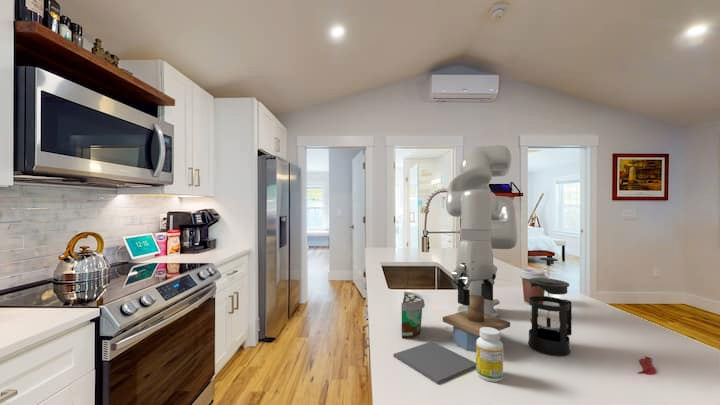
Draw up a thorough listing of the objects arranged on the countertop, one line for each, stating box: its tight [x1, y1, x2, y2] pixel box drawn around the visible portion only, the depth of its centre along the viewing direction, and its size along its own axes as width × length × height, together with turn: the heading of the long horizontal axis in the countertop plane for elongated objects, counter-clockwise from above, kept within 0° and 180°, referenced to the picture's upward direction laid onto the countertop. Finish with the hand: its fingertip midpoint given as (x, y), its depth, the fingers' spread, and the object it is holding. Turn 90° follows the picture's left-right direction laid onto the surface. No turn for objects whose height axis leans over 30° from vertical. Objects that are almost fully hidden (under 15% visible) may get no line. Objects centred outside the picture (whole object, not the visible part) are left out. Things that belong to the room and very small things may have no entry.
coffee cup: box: [519, 268, 548, 306], centre depth 118 cm, size 9×9×12 cm
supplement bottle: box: [475, 327, 504, 383], centre depth 67 cm, size 5×5×10 cm
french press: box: [527, 256, 573, 357], centre depth 81 cm, size 12×9×23 cm
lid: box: [442, 295, 511, 336], centre depth 83 cm, size 12×12×7 cm
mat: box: [393, 341, 476, 385], centre depth 73 cm, size 13×14×1 cm
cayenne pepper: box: [637, 356, 657, 376], centre depth 71 cm, size 12×5×2 cm, turn 117°
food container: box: [401, 291, 426, 340], centre depth 90 cm, size 12×6×10 cm, turn 168°
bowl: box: [452, 325, 480, 353], centre depth 83 cm, size 11×11×5 cm
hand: (475, 301), depth 83 cm, fingers open, 9 cm apart
